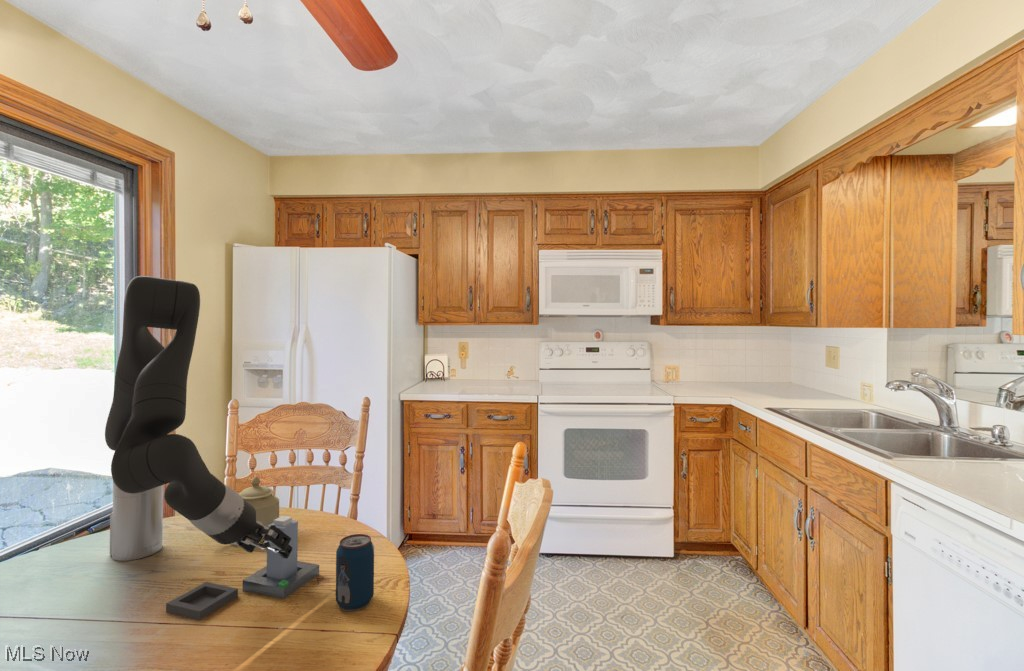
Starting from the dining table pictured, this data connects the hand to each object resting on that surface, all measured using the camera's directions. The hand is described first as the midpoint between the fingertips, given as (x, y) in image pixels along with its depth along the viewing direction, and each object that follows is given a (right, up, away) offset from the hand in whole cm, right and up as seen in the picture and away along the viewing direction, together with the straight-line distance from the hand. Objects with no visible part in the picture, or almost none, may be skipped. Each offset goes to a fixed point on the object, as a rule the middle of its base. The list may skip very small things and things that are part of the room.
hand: (270, 550), depth 94 cm
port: (+1, -8, +3) cm, 9 cm away
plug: (+1, -8, +3) cm, 9 cm away
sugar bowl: (-18, -8, +25) cm, 32 cm away
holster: (-10, -8, -5) cm, 14 cm away
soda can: (+18, -9, -3) cm, 20 cm away
